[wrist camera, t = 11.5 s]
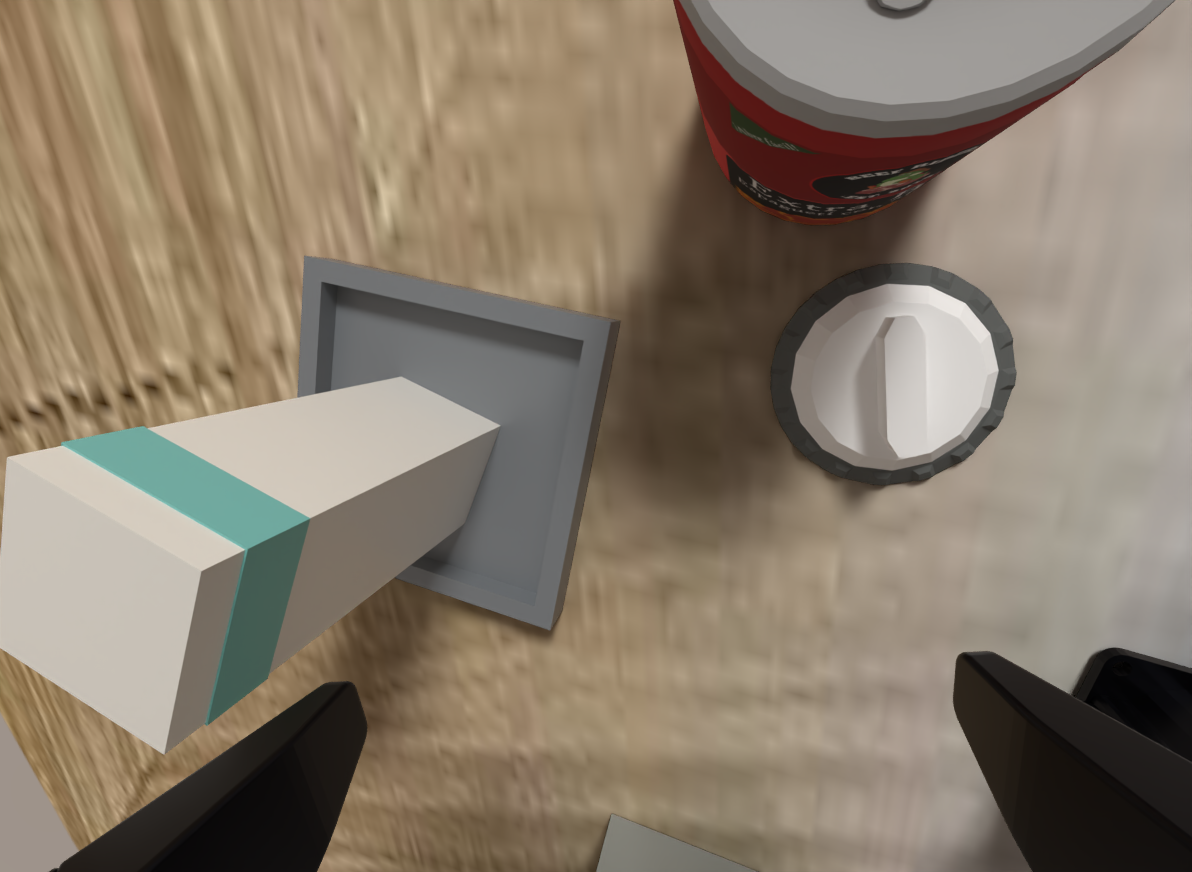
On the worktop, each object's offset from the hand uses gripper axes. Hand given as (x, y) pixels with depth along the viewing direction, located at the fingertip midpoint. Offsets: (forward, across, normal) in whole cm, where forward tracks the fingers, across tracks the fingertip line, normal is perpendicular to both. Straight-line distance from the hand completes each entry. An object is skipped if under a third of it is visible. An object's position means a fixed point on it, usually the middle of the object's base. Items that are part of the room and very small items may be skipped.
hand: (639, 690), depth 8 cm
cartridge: (+14, +8, 0) cm, 16 cm away
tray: (+14, +8, 0) cm, 16 cm away
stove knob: (+12, -8, -1) cm, 15 cm away
